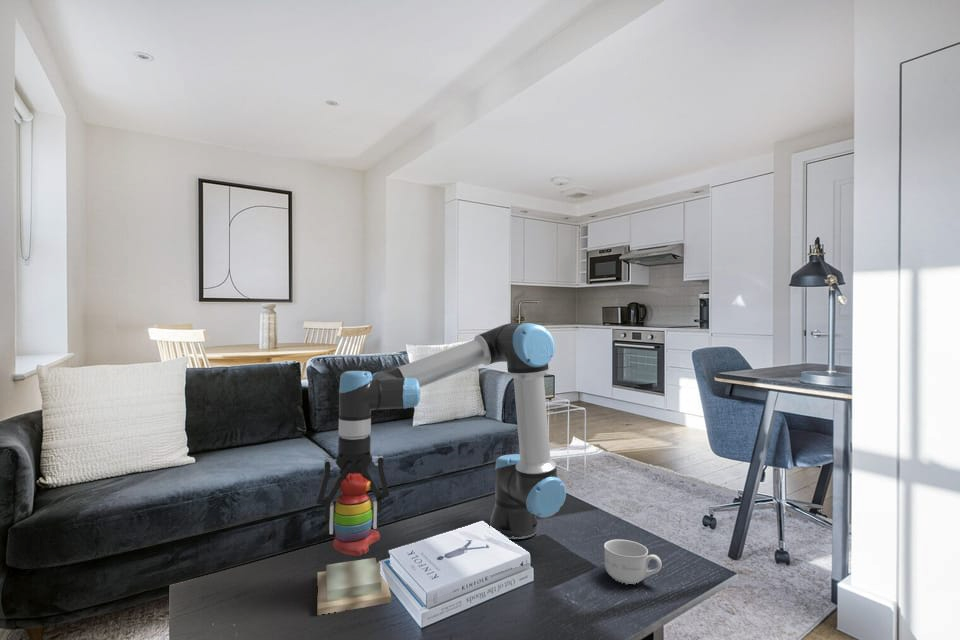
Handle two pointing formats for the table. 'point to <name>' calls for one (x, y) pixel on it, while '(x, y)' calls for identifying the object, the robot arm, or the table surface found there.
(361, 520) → the stacking bear
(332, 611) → the plinth
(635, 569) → the teacup
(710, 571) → the table surface
